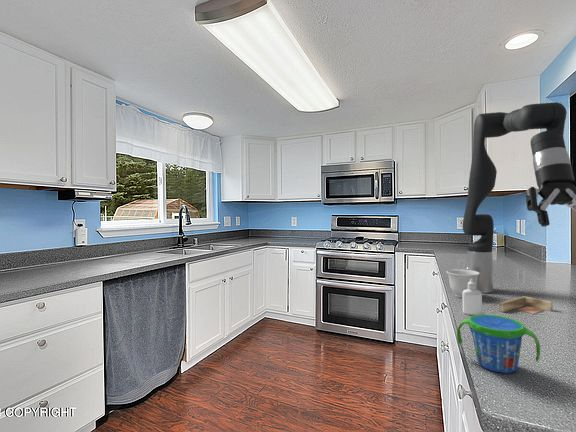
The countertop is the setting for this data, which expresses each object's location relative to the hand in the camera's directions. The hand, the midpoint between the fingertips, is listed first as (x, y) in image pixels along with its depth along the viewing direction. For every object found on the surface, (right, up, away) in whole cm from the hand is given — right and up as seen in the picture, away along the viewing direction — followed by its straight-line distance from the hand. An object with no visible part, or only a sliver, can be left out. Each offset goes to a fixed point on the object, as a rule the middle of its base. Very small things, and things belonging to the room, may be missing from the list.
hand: (564, 226), depth 77 cm
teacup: (+2, -31, +49) cm, 57 cm away
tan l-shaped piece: (+12, -30, +27) cm, 43 cm away
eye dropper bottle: (-7, -31, +26) cm, 41 cm away
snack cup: (-23, -32, -8) cm, 40 cm away
